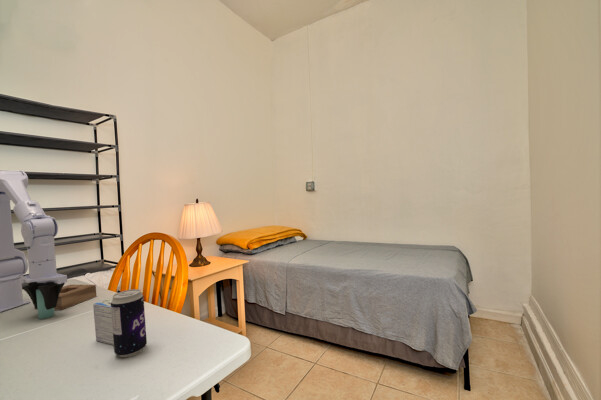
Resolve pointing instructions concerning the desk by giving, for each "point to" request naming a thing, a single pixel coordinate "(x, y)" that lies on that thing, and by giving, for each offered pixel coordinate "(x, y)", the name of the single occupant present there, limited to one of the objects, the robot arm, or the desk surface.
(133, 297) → the beverage can
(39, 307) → the teal peg
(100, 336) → the medicine box
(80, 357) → the desk surface
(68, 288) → the walnut socket block
